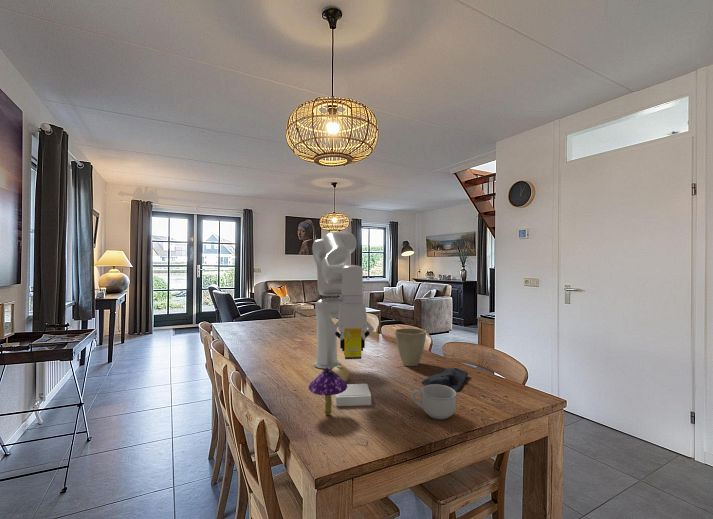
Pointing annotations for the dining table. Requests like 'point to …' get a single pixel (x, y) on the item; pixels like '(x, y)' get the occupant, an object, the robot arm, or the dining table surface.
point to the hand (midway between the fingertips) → (352, 349)
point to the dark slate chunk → (448, 378)
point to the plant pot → (410, 345)
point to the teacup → (437, 400)
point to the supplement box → (352, 343)
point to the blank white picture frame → (354, 395)
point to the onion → (341, 372)
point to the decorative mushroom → (328, 386)
